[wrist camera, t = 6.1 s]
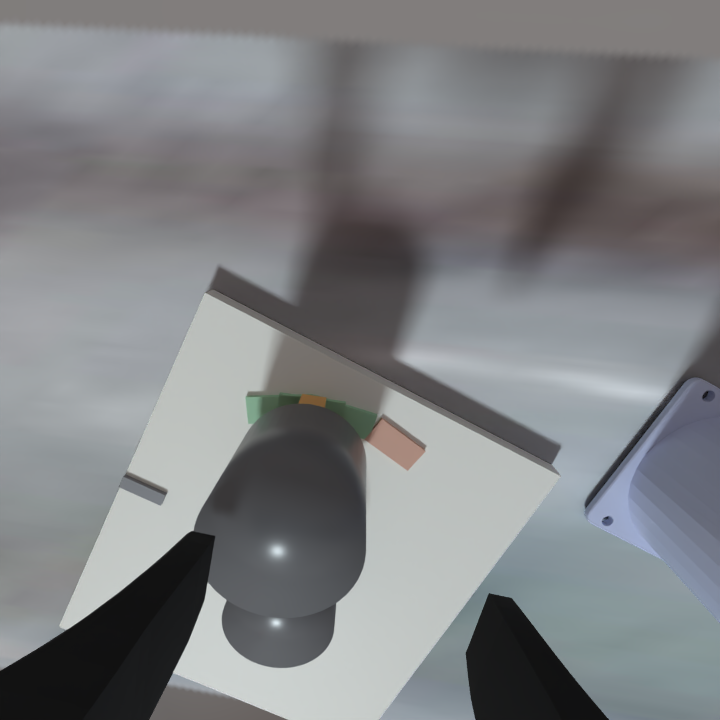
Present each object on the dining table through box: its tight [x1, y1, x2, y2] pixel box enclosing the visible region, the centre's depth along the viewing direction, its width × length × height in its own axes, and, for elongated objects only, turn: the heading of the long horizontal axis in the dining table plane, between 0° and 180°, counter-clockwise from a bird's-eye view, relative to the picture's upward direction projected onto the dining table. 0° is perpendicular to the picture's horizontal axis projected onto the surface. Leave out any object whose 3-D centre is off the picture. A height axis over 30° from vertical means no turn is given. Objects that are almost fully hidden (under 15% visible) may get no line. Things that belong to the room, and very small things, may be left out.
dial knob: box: [194, 394, 367, 668], centre depth 17 cm, size 11×5×6 cm, turn 171°
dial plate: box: [59, 290, 561, 720], centre depth 22 cm, size 17×19×1 cm
